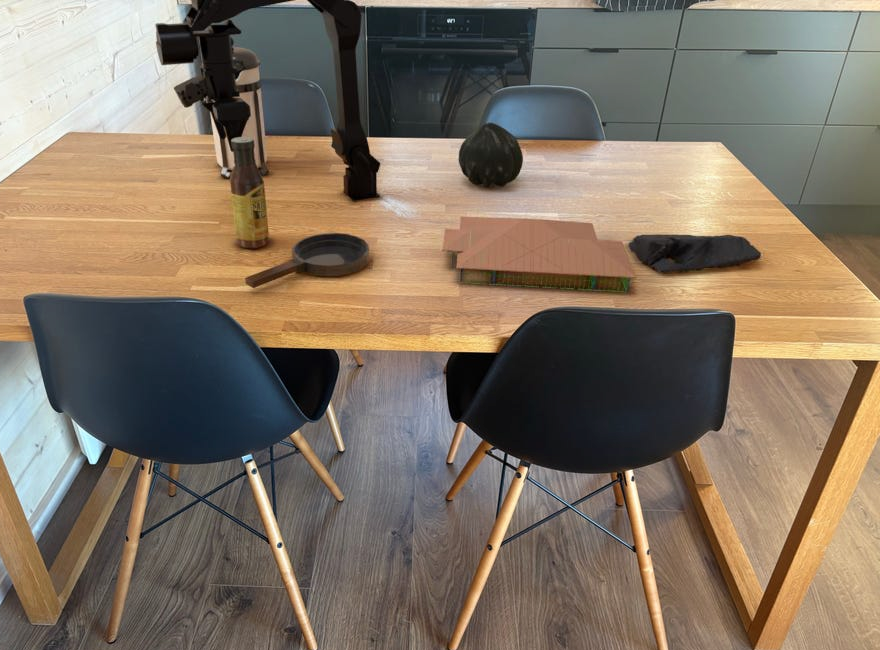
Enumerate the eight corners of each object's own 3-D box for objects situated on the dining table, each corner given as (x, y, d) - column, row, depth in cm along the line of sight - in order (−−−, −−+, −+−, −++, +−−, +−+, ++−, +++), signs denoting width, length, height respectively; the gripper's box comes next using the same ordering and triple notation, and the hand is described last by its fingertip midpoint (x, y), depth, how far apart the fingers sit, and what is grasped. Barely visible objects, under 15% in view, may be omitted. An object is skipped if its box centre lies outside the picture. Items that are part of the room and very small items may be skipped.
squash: (515, 146, 171) (481, 102, 162) (543, 167, 159) (509, 121, 150) (472, 187, 174) (436, 146, 164) (497, 211, 162) (461, 168, 153)
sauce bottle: (262, 251, 132) (251, 146, 121) (231, 248, 133) (217, 143, 122) (274, 237, 137) (264, 135, 126) (244, 235, 138) (232, 133, 127)
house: (445, 231, 141) (447, 192, 136) (612, 239, 138) (620, 200, 134) (439, 283, 122) (441, 240, 117) (632, 294, 119) (642, 250, 115)
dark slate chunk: (769, 272, 127) (777, 248, 124) (652, 276, 125) (658, 252, 122) (729, 238, 139) (735, 215, 137) (622, 241, 137) (626, 218, 135)
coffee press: (289, 166, 174) (279, 34, 157) (245, 184, 162) (228, 44, 146) (237, 153, 181) (222, 27, 165) (191, 170, 170) (170, 36, 153)
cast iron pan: (352, 240, 137) (352, 228, 135) (381, 269, 126) (381, 256, 125) (283, 252, 132) (282, 240, 130) (307, 284, 121) (306, 271, 120)
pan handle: (296, 266, 125) (295, 257, 124) (305, 271, 124) (305, 262, 123) (245, 286, 119) (244, 277, 118) (254, 292, 117) (253, 282, 116)
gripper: (164, 55, 134) (178, 137, 143) (183, 74, 120) (197, 164, 129) (222, 51, 138) (232, 131, 147) (246, 69, 124) (256, 156, 133)
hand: (228, 145), depth 139 cm, fingers open, 9 cm apart
